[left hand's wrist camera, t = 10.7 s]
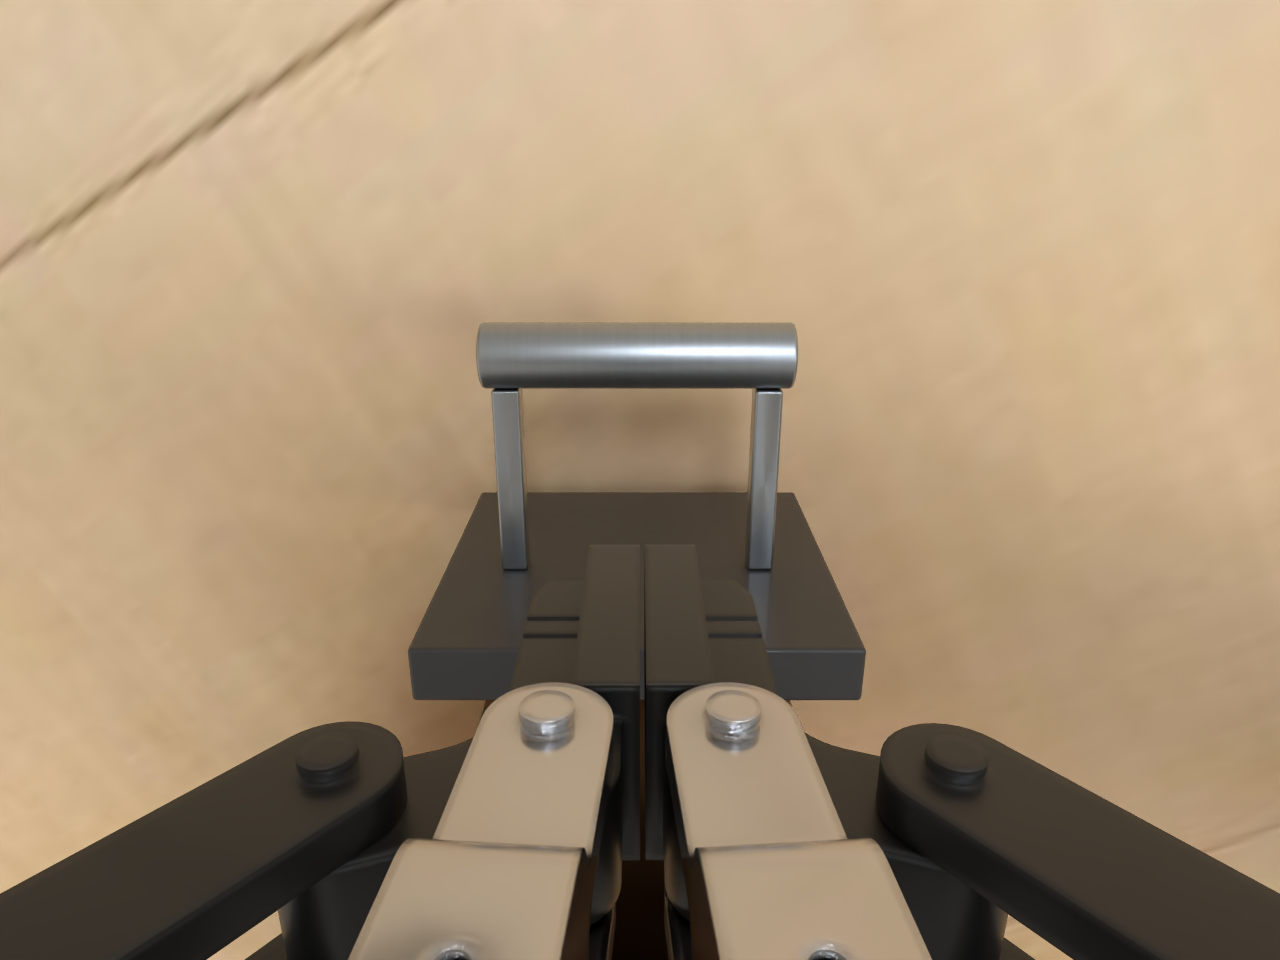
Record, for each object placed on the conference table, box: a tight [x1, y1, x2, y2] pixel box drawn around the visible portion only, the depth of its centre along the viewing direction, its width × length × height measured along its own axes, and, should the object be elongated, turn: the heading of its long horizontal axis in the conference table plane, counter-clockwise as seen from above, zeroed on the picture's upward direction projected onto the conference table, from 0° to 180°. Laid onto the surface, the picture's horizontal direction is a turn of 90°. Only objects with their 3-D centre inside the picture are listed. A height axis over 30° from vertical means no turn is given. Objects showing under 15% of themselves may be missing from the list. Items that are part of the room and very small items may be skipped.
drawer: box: [408, 323, 866, 960], centre depth 23 cm, size 25×9×9 cm, turn 0°
